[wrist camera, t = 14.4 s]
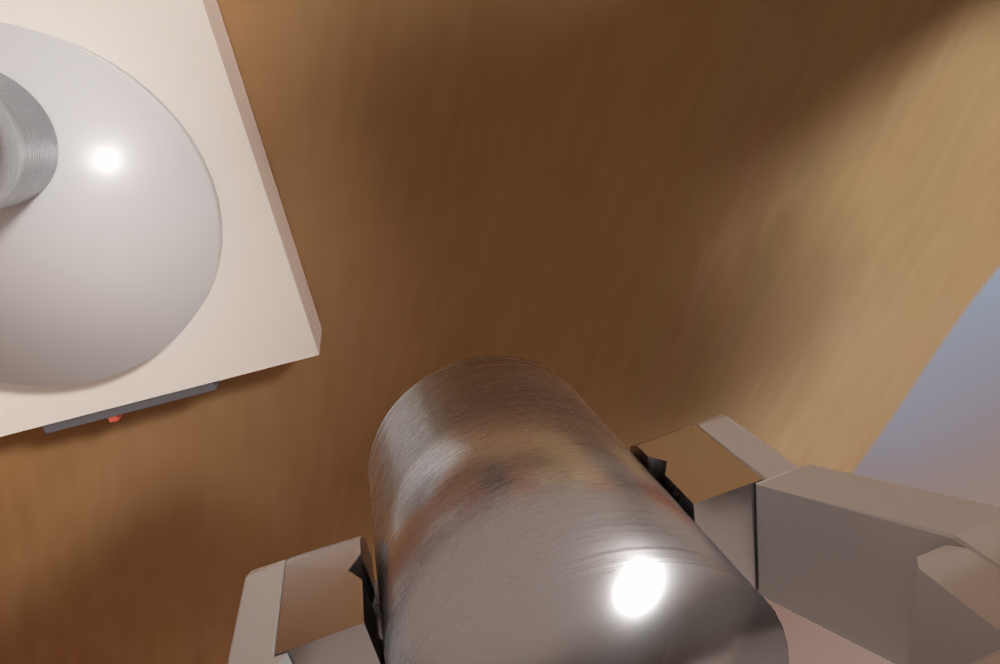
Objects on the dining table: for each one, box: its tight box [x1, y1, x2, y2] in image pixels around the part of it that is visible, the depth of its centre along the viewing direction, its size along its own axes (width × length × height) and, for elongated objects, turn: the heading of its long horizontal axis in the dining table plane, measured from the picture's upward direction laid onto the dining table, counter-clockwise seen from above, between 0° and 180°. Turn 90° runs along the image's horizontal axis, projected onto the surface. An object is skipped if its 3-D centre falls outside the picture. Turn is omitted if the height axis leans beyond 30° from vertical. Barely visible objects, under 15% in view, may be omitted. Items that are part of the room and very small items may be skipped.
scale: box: [0, 0, 322, 437], centre depth 20 cm, size 14×15×4 cm
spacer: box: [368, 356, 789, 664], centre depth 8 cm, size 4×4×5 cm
